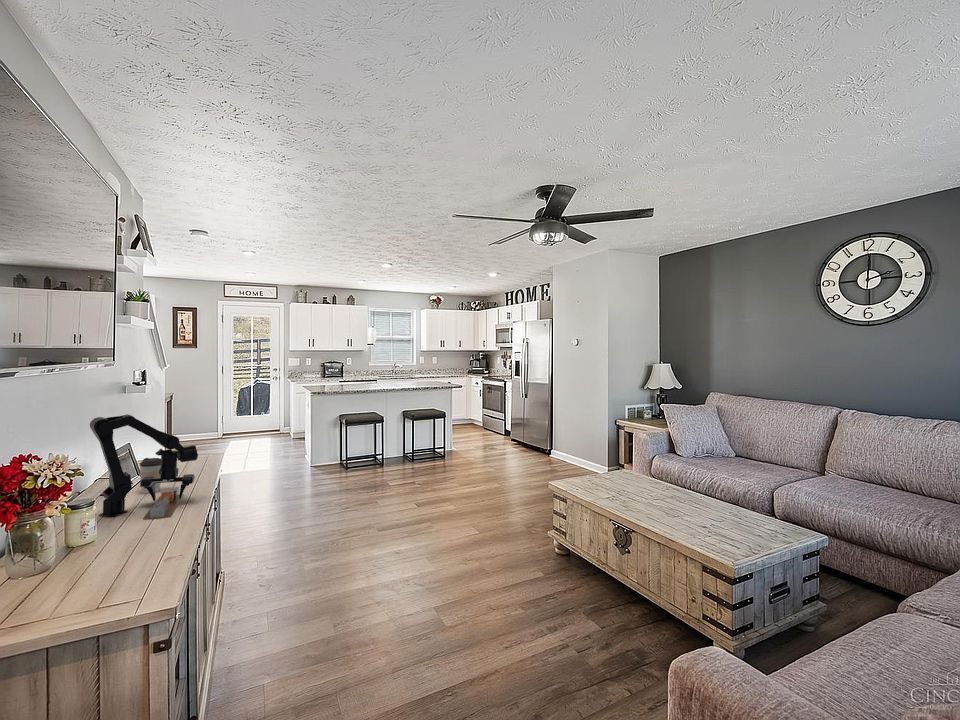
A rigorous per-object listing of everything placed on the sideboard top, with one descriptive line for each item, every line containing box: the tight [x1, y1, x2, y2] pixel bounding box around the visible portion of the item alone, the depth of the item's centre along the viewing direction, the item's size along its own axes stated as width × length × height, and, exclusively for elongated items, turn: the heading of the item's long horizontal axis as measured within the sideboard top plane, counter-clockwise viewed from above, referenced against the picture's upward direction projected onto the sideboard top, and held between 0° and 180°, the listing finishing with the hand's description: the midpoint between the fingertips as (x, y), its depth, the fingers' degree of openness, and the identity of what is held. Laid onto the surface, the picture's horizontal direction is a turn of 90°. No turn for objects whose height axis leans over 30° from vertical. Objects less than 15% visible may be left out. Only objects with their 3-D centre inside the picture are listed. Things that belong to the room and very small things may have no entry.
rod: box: [160, 490, 174, 502], centre depth 193 cm, size 16×4×4 cm, turn 24°
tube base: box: [143, 486, 185, 520], centre depth 191 cm, size 28×9×4 cm, turn 24°
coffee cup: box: [139, 457, 161, 494], centre depth 209 cm, size 9×9×15 cm
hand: (167, 499), depth 195 cm, fingers open, 9 cm apart
